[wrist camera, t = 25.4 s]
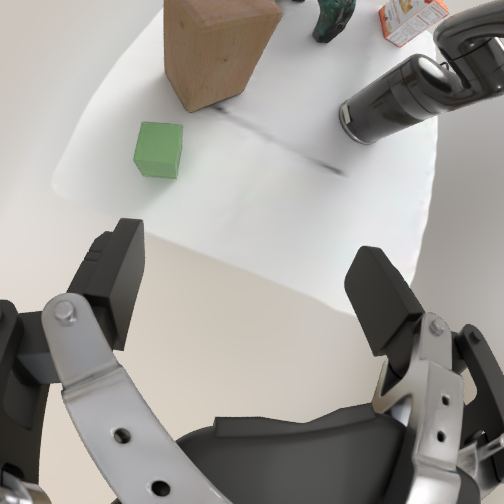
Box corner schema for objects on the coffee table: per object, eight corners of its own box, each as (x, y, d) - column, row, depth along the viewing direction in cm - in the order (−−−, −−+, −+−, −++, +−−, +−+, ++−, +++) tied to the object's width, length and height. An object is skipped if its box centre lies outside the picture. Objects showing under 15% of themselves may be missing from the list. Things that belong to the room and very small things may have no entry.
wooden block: (187, 116, 37) (198, 28, 17) (162, 72, 35) (161, -18, 16) (244, 94, 39) (289, 12, 19) (217, 52, 37) (243, -33, 18)
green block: (182, 146, 37) (182, 125, 29) (176, 179, 37) (175, 164, 29) (149, 143, 36) (142, 121, 28) (142, 175, 36) (133, 160, 28)
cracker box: (377, 10, 46) (418, -27, 26) (393, 20, 47) (436, -13, 27) (382, 37, 46) (433, -2, 26) (400, 48, 47) (451, 14, 27)
